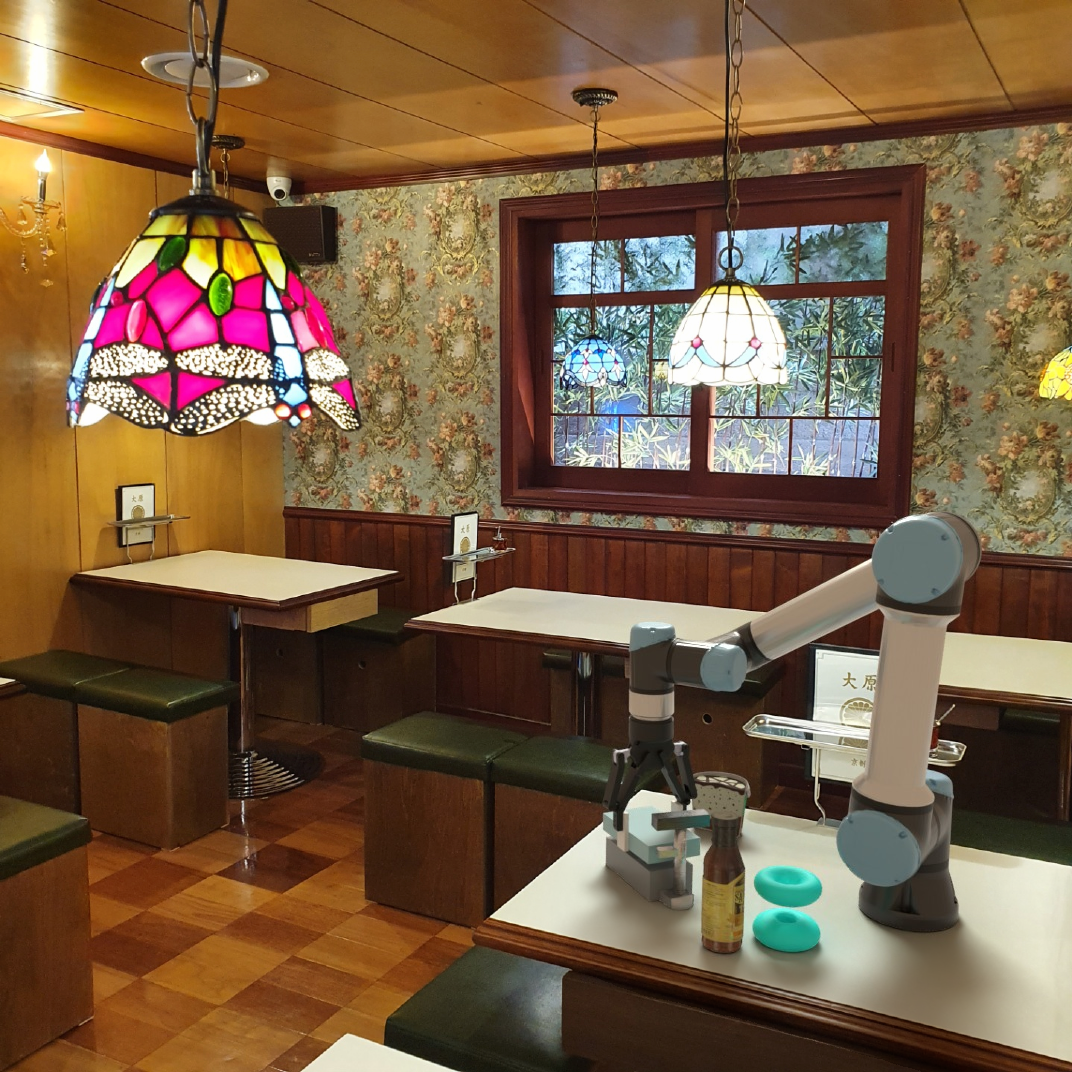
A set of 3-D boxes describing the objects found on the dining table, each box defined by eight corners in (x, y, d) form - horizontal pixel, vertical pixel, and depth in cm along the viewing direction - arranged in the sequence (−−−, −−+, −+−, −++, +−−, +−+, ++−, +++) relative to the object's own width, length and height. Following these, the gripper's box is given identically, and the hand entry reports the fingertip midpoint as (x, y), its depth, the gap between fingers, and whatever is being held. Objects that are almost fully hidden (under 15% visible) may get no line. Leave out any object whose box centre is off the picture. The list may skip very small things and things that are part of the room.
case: (707, 905, 175) (707, 875, 175) (663, 913, 172) (664, 883, 172) (646, 858, 194) (646, 830, 194) (605, 864, 191) (606, 836, 191)
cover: (700, 855, 179) (700, 837, 179) (648, 864, 175) (648, 846, 175) (651, 822, 194) (651, 805, 194) (602, 829, 191) (603, 813, 190)
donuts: (804, 860, 169) (834, 886, 159) (801, 921, 170) (832, 952, 160) (743, 864, 167) (771, 892, 157) (741, 927, 168) (768, 958, 158)
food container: (759, 828, 209) (760, 778, 208) (747, 839, 204) (748, 787, 203) (699, 816, 216) (700, 766, 215) (686, 825, 211) (687, 775, 210)
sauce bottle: (742, 957, 158) (746, 825, 156) (699, 953, 160) (702, 821, 158) (743, 937, 165) (747, 809, 163) (701, 932, 166) (705, 806, 164)
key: (701, 886, 178) (703, 809, 177) (707, 892, 176) (710, 814, 174) (649, 891, 176) (651, 813, 174) (655, 898, 173) (657, 819, 172)
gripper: (697, 703, 190) (695, 827, 193) (581, 716, 182) (581, 845, 184) (720, 713, 183) (718, 842, 186) (601, 727, 175) (600, 862, 177)
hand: (650, 844), depth 185 cm, fingers closed on cover, 10 cm apart
